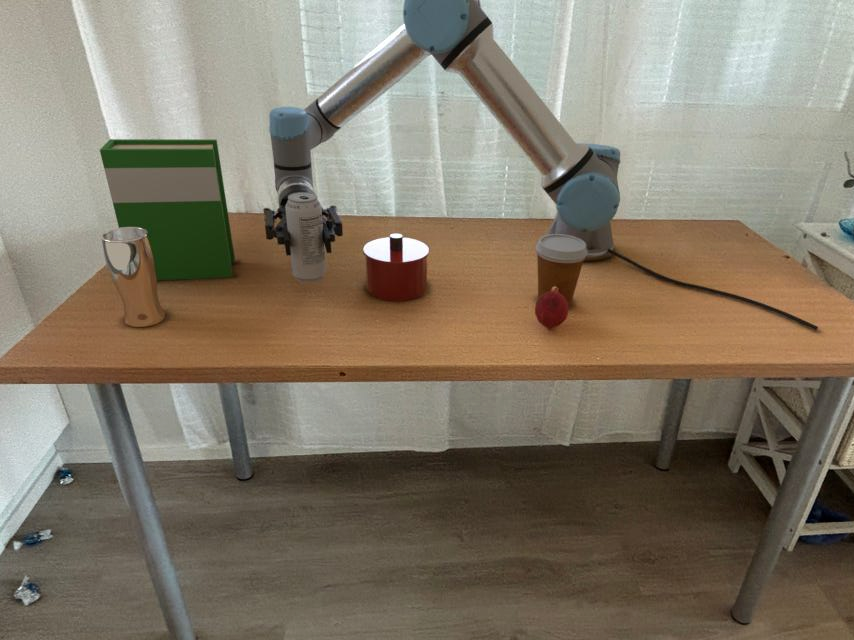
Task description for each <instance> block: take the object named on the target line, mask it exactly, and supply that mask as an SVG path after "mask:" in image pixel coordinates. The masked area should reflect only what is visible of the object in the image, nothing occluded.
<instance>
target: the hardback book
mask: <svg viewBox="0 0 854 640" xmlns="http://www.w3.org/2000/svg"><path fill="white" fill-rule="evenodd" d="M99 153H100V157H101V160H102V165H103V170H104V173H105V177H106V181H107V185H108V186H107V187H108V189H109V193H110V198H111V202H112V205H113V210H114V215H115V218H116V222H117V226H118V228H121V227H140V228H143V229H145V230H147V232H148V236H149V239H150V242H151V245H152V248H153V252H154V256H155V261H156V270H157V281H175V280H178V281H179V280H198V279H200V280H201V279H219V278H233V277H234V272H233V266H232V264H235V265H236V257H235V251H234V244H233V243H234V242H233V238H232V232H231V231H232V230H231V224H230V217H229V212H228V204H227V197H226V191H225V184H224V178H223V172H222V166H221V159H220V158H221V157H220V151H219V144H218V139H217V138H215V139H213V138H212V139H211V138H210V139H209V138H206V139H205V138H204V139H199V138H198V139H197V138H196V139H195V138H194V139H192V138H191V139H189V138H188V139H184V138H183V139H182V138H181V139H180V138H179V139H178V138H177V139H176V138H175V139H174V138H173V139H172V138H171V139H169V138H168V139H166V138H164V139H162V138H161V139H159V138H158V139H157V138H156V139H153V138H151V139H148V138H147V139H146V138H142V139H141V138H140V139H139V138H137V139H136V138H135V139H134V138H132V139H131V138H129V139H128V138H127V139H125V138H124V139H123V138H122V139H120V138H110V139H109V140H107V141H106V143H105V144H104V145H103V146H102V147H101V148H100V149H99Z"/></svg>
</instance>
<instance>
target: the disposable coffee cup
mask: <svg viewBox="0 0 854 640" xmlns="http://www.w3.org/2000/svg"><path fill="white" fill-rule="evenodd" d="M535 251H536V255H537V296H538V297H537V300H538V299H539V298H540V297H541V296H542V295H543V294H545V293H547V292H549V291H550V290H551V289H552V287H554V286H556V287H557V288H559V289H558V292H559V293H561V294H562V295H563V296H564V297H565V299H566V301H567V303H568V307H569V308H570V306H571V305H572V302H573V298H574V294H575V291H576V288H577V285H578V281H579V278H580V275H581V270H582V269H583V268H582V267H583V263H584V262H585V261H584V259H585V257H586V256H587V254H588V251H587V249H586V243H585V242H584V241H583V240H581V239H579V238H577V237H574V236H570V235H564V234H550V235H547V234H546V235H543V236H542V235H541V237H540V238H539V239H538V242H537V243H536V244H535Z"/></svg>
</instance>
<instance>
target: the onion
mask: <svg viewBox="0 0 854 640" xmlns="http://www.w3.org/2000/svg"><path fill="white" fill-rule="evenodd" d="M558 289H559V288H557V287H556V286H554V287H552V289H551V290H550V291H549V292H547V293H545V294H543V295H542V296H541V297H540V298H539V299H538V298H537V301H536V304H535V307H534V315H535V317H536V319H537V321H538V323H540V324H541V326H543V327H544V328H546V329H548V330H551V329H554V328H556V327H559V326H560V325H562V324H563V323H564V322H565V321H566V320H567V318H568V316H569V308H570V306H569V307H568V303H567V301H566V299H565V297H564V296H563V295H562V294H561V293H559V292H558Z"/></svg>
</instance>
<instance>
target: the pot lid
mask: <svg viewBox="0 0 854 640" xmlns="http://www.w3.org/2000/svg"><path fill="white" fill-rule="evenodd" d="M362 252H363V255H364V257H365V256H366V257H367V258H368V259H370V260H373V261H375V262H379V263H383V264H392V265H403V264H411V263H415V262H419V261H421V260H423V259H425V258H426V257H427V258H428V256H429V255H430V248H429V246H428V245H427V244H426V243H424V242H422V241H421V240H418V239H414V238H410V237H404V235H403V234H402V233H390V235H389V236H388V237H380V238H376V239H374V240H370V241H369V242H367V243H366V244H364V246H363V249H362Z"/></svg>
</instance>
